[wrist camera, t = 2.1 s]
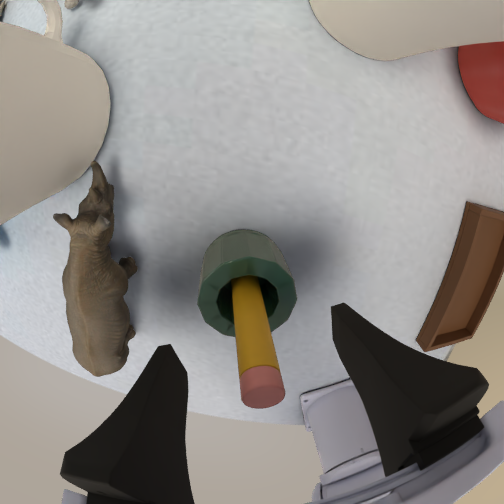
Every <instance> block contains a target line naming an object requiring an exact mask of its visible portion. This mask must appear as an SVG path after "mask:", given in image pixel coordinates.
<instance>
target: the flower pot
mask: <svg viewBox="0 0 504 504" xmlns="http://www.w3.org/2000/svg"><path fill="white" fill-rule="evenodd" d="M458 64H459V69H460V74H461V77H462V80H463V83H464V86H465V88H466V90H467V93H468V95H469V97H470V98H471V100H472V101H473V102H474V104H475V106H476V108H477V109H478V110H479V111H480V112H481V113H482V114H483V115H485V116H486V117H488V118H491V119H493V120H496V121H498V122H501V123H503V124H504V41H502V42H488V43H478V44H470V45H462V46H459V49H458Z"/></svg>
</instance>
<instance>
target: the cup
mask: <svg viewBox="0 0 504 504" xmlns="http://www.w3.org/2000/svg"><path fill="white" fill-rule="evenodd" d="M309 2H310V5H311V8H312V10H313V12H314V14H315V16H316V17H317V19H318V21H319V22H320V23H321V25H322V26H323V27H324V28H325V29H326V31H327V32H328V33H329V34H330V35H331V36H333V37H334V38H335V39H336V40H337V41H338V42H340V43H341V44H342V45H344V46H345V47H347V48H348V49H350V50H352V51H354V52H356V53H358V54H360V55H362V56H365V57H367V58H371V59H375V60H381V61H391V60H396V59H400V58H404V57H408V56H412V55H416V54H420V53H425V52H429V51H434V50H439V49H444V48H450V47H456V46H462V45H470V44H478V43H488V42H502V41H504V0H309Z"/></svg>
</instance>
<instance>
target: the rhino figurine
mask: <svg viewBox="0 0 504 504" xmlns="http://www.w3.org/2000/svg"><path fill="white" fill-rule="evenodd" d="M91 167H92V169H93V181H92V185H91V188H90V189H89V193H88V195H87V197H86V198H85V199H84V200H83V201H82V202H81V203H80V204H79V213H78V215H77V217H76V218H75V219H71V217H70V216H69V215H68V214H65V213H63V214H54V215H53V218H54V219H55V221H57V223H59V224H60V225H61V226H62V227H64V228H66V229H67V230H68V232H69V234H70V236H71V241H70V253H69V258H68V263H67V265H66V267H65V269H64V272H63V276H62V282H63V291H64V296H65V298H66V314H67V320H68V324H69V328H70V332H71V335H72V340H73V353H74V356H75V358H76V360H77V361H78V362H79V364H80V365H81V366H82V367H83V368H85V369H86V370H87V371H89V372H90V373H92V374H93V375H94V376H96V377H99V376H103V375H108V374H112V373H114V372H117V371H118V370H120V369H121V368H122V367H123V366H124V365H125V363H126V361H127V357H128V355H129V348H128V341H129V340H130V339H132V338H133V337H134V336H135V334H136V333H135V331H134V330H133V327H132V325H130V313H129V309H128V307H127V305H126V303H125V301H124V298H123V296H124V295H125V294H126V292H127V290H128V279H129V278H130V277H131V276H132V275H133V274H135V273H136V272H137V270H138V268H137V266H136V265H135V260H134V259H133V258H132V257H128V258H126V257H124V258H121V259H120V261H119V264H118V263H117V262H115V261H114V260H113V259H112V258H111V256H110V255H111V252H110V249H109V246H108V244H109V242H110V240H111V238H112V236H113V232H114V213H113V200H114V186H113V185H110V184H108V182H107V180H106V177H105V175H104V173H103V170H102V168H101V166H100V165H99V164H98V163H97V162H96V161H92V162H91Z"/></svg>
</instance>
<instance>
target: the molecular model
mask: <svg viewBox="0 0 504 504" xmlns="http://www.w3.org/2000/svg"><path fill="white" fill-rule="evenodd" d="M78 2H79V0H66V1H65V7H66V8H67V9H71V8H74V7H76V6H77V4H78Z"/></svg>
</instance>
